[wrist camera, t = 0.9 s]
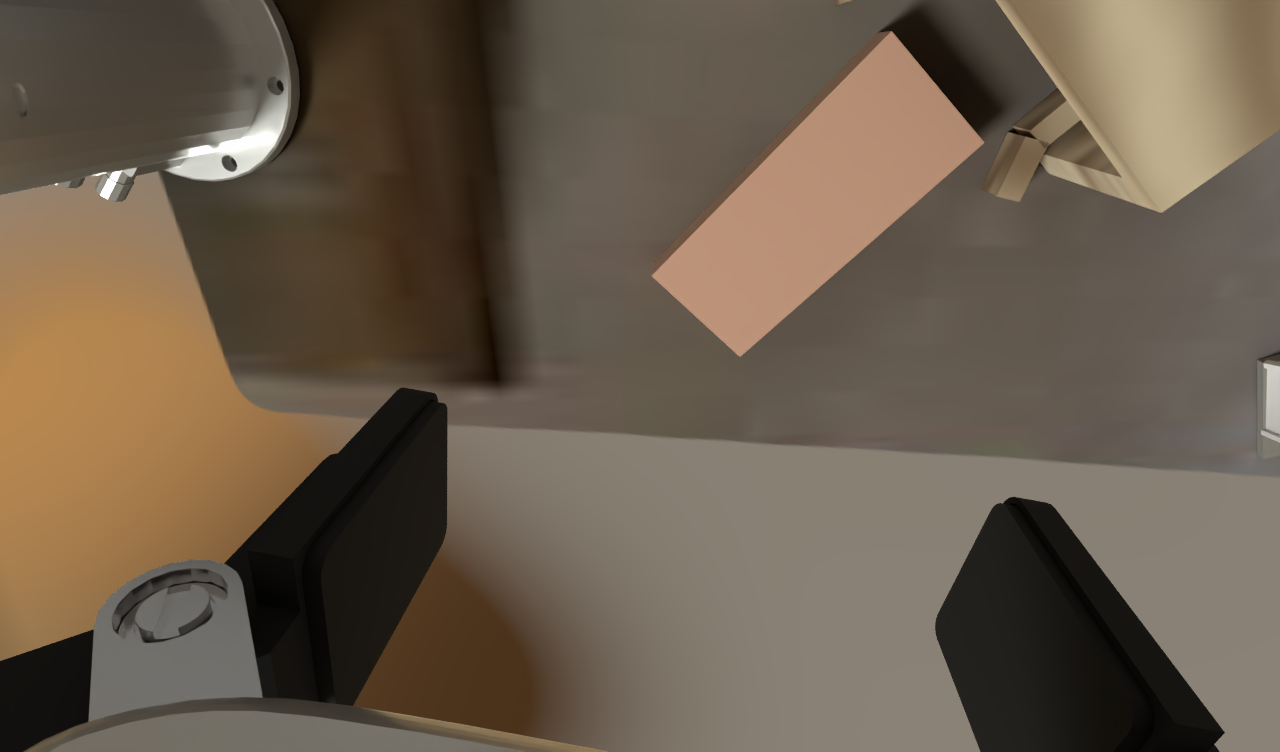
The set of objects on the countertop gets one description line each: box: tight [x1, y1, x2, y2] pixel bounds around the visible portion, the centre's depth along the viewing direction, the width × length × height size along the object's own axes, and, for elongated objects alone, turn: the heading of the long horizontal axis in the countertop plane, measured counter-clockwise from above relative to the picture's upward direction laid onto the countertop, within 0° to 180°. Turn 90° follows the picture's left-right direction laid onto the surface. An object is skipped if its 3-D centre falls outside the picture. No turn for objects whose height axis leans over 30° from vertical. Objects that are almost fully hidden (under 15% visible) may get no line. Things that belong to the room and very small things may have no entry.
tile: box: [652, 31, 984, 357], centre depth 34 cm, size 16×7×3 cm, turn 138°
